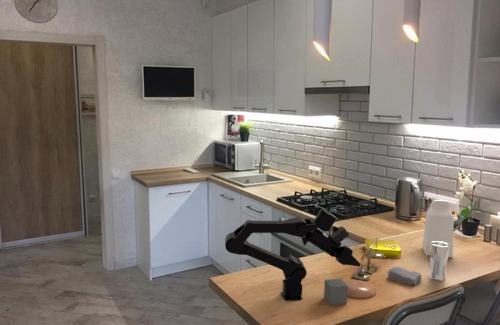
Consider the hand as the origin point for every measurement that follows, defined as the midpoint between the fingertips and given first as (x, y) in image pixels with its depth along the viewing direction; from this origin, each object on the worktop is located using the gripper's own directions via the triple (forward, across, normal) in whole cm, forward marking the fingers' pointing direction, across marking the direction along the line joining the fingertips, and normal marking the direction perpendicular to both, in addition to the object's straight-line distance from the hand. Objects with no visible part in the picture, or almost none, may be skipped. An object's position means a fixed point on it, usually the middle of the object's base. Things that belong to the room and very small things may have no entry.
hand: (355, 262), depth 163 cm
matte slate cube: (0, -2, +16) cm, 16 cm away
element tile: (+31, +46, -10) cm, 56 cm away
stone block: (+30, +14, -5) cm, 33 cm away
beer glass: (+41, +13, -12) cm, 45 cm away
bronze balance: (+19, +24, 0) cm, 30 cm away
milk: (+54, +42, -25) cm, 72 cm away
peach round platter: (+10, +6, +9) cm, 14 cm away
